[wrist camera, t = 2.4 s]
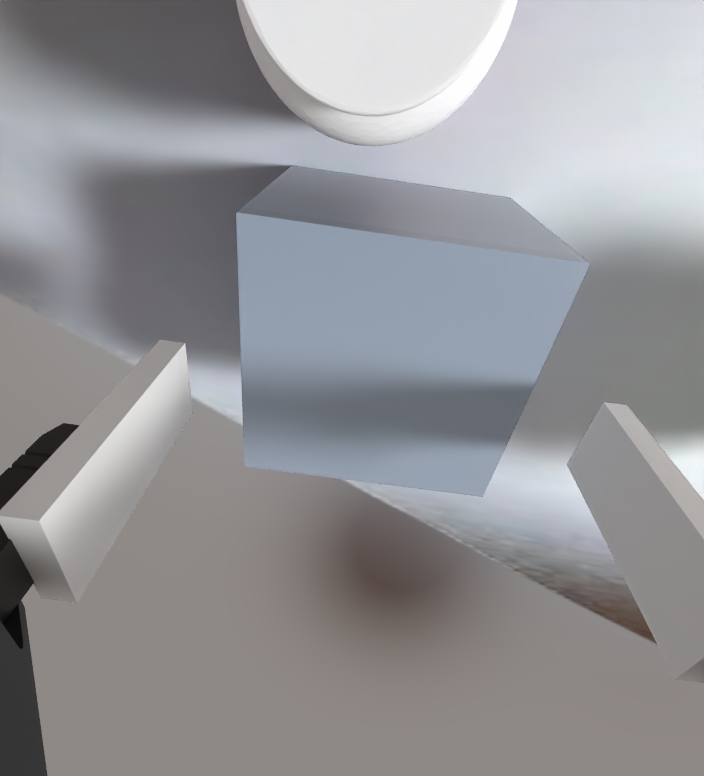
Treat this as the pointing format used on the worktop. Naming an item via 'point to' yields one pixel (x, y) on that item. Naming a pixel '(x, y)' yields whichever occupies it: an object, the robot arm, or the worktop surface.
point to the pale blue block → (392, 327)
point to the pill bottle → (374, 60)
